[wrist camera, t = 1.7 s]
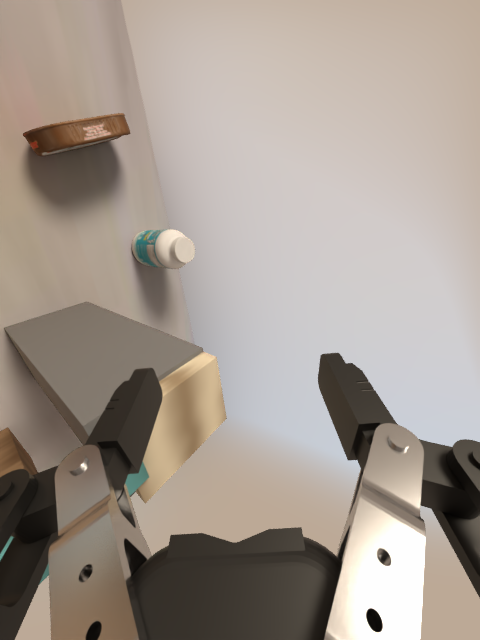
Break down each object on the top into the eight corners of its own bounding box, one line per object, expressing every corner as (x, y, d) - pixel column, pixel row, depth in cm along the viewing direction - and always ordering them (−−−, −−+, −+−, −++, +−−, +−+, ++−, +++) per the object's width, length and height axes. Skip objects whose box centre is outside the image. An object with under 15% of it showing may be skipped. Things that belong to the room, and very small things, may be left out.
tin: (108, 121, 41) (132, 105, 36) (118, 143, 43) (142, 130, 38) (14, 138, 33) (29, 120, 28) (32, 164, 34) (49, 151, 29)
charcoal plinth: (34, 378, 40) (125, 502, 21) (3, 327, 36) (83, 426, 17) (105, 346, 48) (215, 414, 29) (86, 301, 44) (202, 347, 25)
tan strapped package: (-12, 629, 15) (-6, 672, 13) (-120, 569, 11) (-129, 621, 9) (214, 411, 29) (229, 420, 28) (203, 351, 25) (220, 358, 24)
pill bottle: (156, 228, 52) (196, 225, 44) (165, 260, 55) (204, 264, 47) (124, 234, 47) (164, 232, 39) (136, 269, 50) (174, 275, 42)
